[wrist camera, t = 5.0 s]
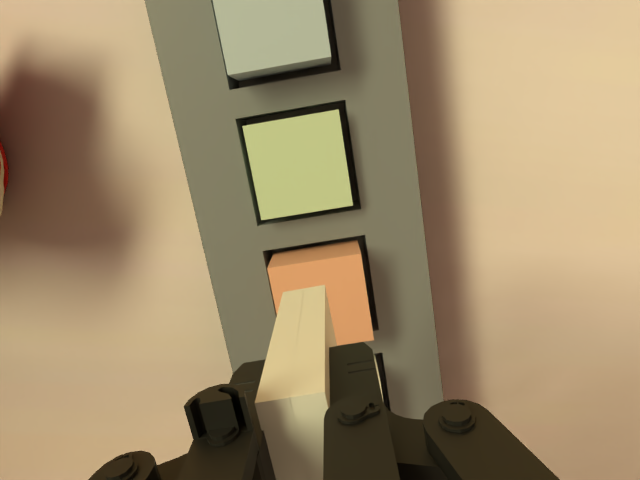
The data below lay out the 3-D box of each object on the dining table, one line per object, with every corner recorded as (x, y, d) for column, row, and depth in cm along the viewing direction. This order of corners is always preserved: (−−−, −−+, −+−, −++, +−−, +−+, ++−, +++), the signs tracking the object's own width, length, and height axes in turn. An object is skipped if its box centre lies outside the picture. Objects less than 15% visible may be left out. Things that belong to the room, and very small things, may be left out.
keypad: (267, 448, 29) (259, 486, 26) (153, -50, 22) (125, -78, 19) (437, 425, 29) (450, 461, 26) (375, -93, 22) (383, -129, 19)
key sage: (268, 210, 24) (261, 220, 22) (251, 126, 23) (242, 125, 20) (350, 196, 24) (352, 205, 21) (337, 111, 23) (338, 109, 20)
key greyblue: (239, 81, 22) (227, 75, 19) (219, -21, 20) (203, -41, 18) (330, 64, 21) (331, 56, 19) (315, -39, 20) (313, -62, 18)
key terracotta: (288, 329, 25) (284, 353, 22) (273, 253, 24) (267, 268, 21) (369, 317, 24) (374, 340, 22) (357, 239, 23) (361, 253, 21)
